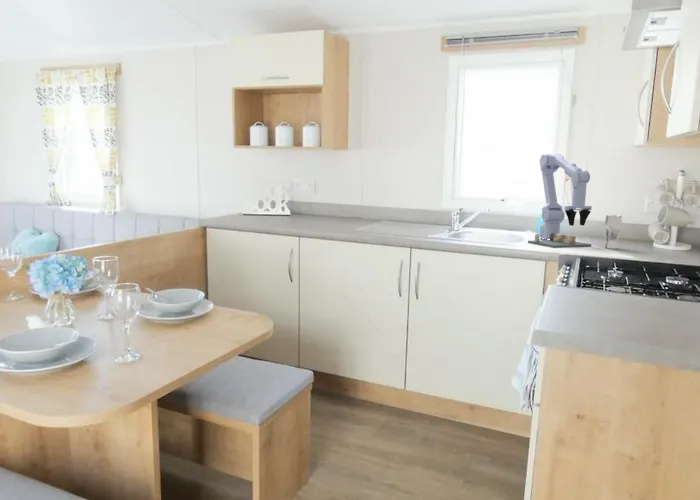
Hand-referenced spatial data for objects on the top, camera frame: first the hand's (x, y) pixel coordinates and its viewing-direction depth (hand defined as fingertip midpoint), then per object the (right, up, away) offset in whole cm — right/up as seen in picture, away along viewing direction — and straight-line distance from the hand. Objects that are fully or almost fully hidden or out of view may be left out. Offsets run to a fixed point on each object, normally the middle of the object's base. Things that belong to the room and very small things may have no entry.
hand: (576, 225), depth 262 cm
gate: (-7, -8, +1) cm, 10 cm away
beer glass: (+13, -11, -8) cm, 18 cm away
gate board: (-8, -9, +2) cm, 12 cm away
